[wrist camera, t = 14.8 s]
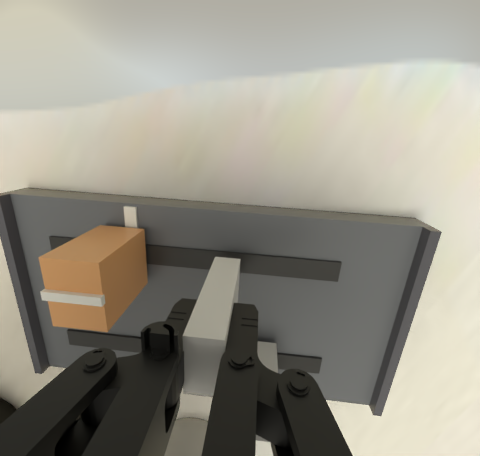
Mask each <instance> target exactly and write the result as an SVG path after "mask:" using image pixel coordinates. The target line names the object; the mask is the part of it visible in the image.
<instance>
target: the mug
mask: <svg viewBox="0 0 480 456" xmlns="http://www.w3.org/2000/svg"><path fill="white" fill-rule="evenodd" d="M15 411H17V410H16V409H15V408H14V407H13V406H12V405H11V404H9V403H8V402H6V401H4V400H2V399H0V424H1V423H2V422H4V421H5V420H6V419H7V418H8V417H9V416H11V415H12V414H13V413H14V412H15Z"/></svg>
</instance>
